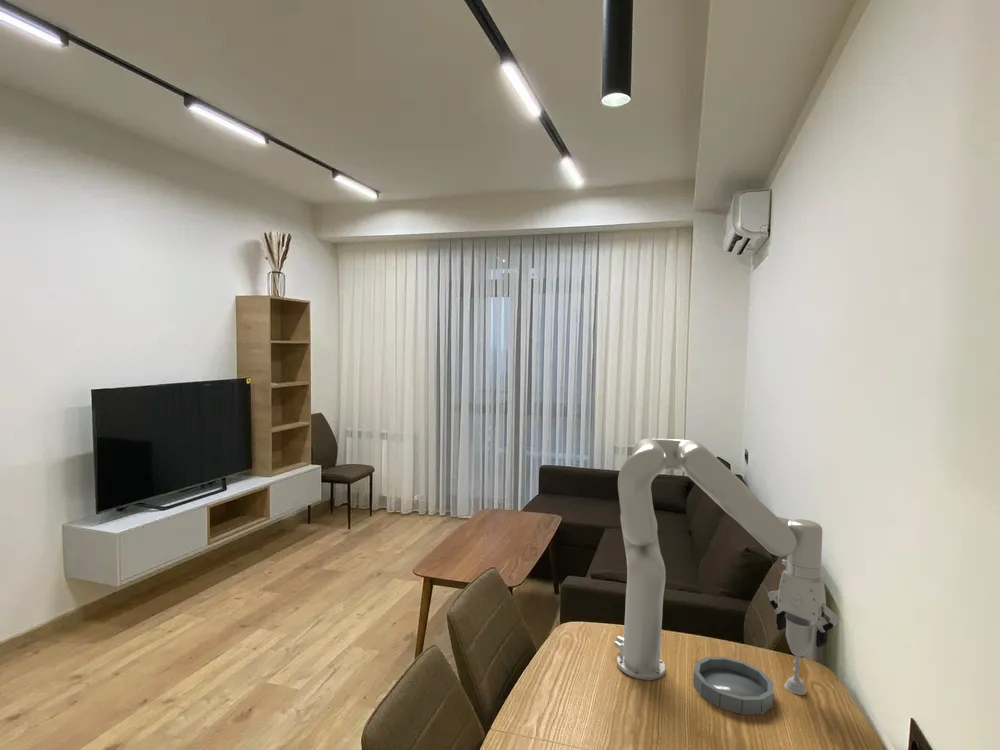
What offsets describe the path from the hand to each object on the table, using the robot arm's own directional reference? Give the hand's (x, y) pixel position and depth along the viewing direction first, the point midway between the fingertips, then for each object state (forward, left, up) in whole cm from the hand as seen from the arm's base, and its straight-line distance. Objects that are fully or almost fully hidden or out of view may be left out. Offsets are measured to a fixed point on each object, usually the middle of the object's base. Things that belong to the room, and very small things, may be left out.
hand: (800, 636), depth 137 cm
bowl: (-8, -15, -14) cm, 22 cm away
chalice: (0, 0, -14) cm, 14 cm away
